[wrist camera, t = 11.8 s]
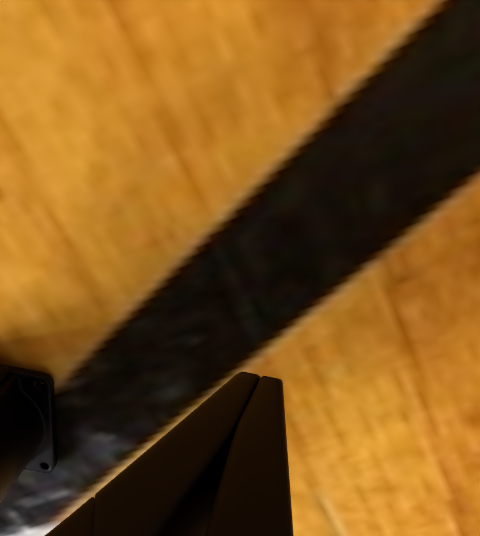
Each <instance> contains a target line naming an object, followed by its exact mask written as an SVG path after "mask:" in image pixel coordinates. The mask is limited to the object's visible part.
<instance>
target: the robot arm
mask: <svg viewBox="0 0 480 536" xmlns="http://www.w3.org/2000/svg"><path fill="white" fill-rule="evenodd" d="M40 381H41V382H43V383H44V384H42V383H41V382H40ZM56 464H57V449H56V426H55V402H54V382H53V378H52V377H51V376H50V375H49V374H47V373H44V372H39V371H34V370H28V369H22V368H17V367H11V366H5V365H0V504H1V502H2V501H3V499H4V498H5V496H6V495H7V493H8V492H9V490H10V489H11V487H12V486H13V484H14V483H15V481H16V480H17V478H18V477H19V475H20V474H21V472H22V471H23V469H27V470H32V471H38V472H43V473H50V472H52V471H53V469H54V468H55V466H56ZM45 536H293V523H292V509H291V495H290V481H289V466H288V452H287V438H286V424H285V410H284V395H283V383H282V380H281V379H278V378H272V377H267V376H263V377H260V376H259V375H257V374H252V373H247V372H240V373H238V374H236V375H235V376H234V377H233V378H232V379H231V380H229V381H228V382H227V383H226V384H225V385H223V386H222V387H221V388H220V389H219V390H218V391H216V392H215V393H214V394H213V395H212V396H210V397H209V398H208V399H207V400H206V401H205V402H203V403H202V404H201V405H200V406H199V407H198V408H196V409H195V410H194V411H193V412H192V413H190V414H189V415H188V416H187V417H186V418H185V419H183V420H182V421H181V422H180V423H179V424H177V425H176V426H175V427H174V428H173V429H172V430H170V431H169V432H168V433H167V434H166V435H165V436H163V437H162V438H161V439H160V440H159V441H157V442H156V443H155V444H154V445H153V446H152V447H150V448H149V449H148V450H147V451H146V452H144V453H143V454H142V455H141V456H140V457H139V458H137V459H136V460H135V461H134V462H133V463H132V464H130V465H129V466H128V467H127V468H126V469H124V470H123V471H122V472H121V473H120V474H119V475H117V476H116V477H115V478H114V479H113V480H111V481H110V482H109V483H108V484H107V485H106V486H104V487H103V488H102V489H101V490H100V491H99V492H97V493H96V495H95V498H94V497H91V498H90V499H89V500H88V501H86V502H85V503H84V504H83V505H82V506H81V507H79V508H78V509H77V510H76V511H75V512H73V513H72V514H71V515H70V516H69V517H67V518H66V519H65V520H64V521H62V522H61V523H60V524H59V525H57V526H56V527H55V528H54V529H53V530H51V531H50V532H49V533H48V534H46V535H45Z"/></svg>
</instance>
